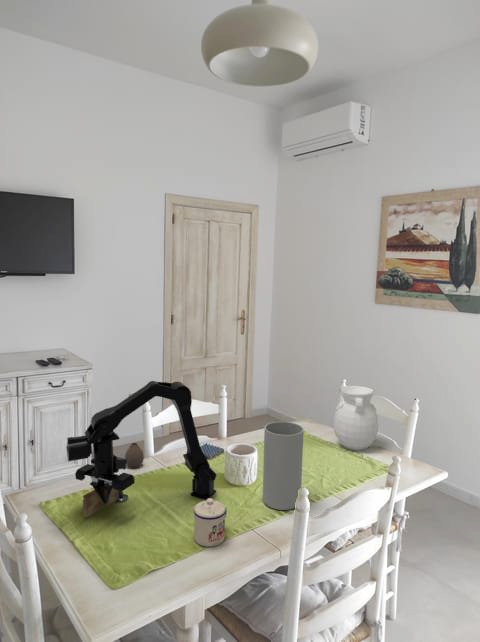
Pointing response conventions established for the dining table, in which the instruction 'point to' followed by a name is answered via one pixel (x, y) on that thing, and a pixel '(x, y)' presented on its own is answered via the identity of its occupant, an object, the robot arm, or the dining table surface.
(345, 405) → the pitcher
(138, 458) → the vase
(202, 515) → the teacup with lid
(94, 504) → the brown wooden plank
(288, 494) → the cylinder vase
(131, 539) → the dining table surface
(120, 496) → the hinge pin
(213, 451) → the woven mat
